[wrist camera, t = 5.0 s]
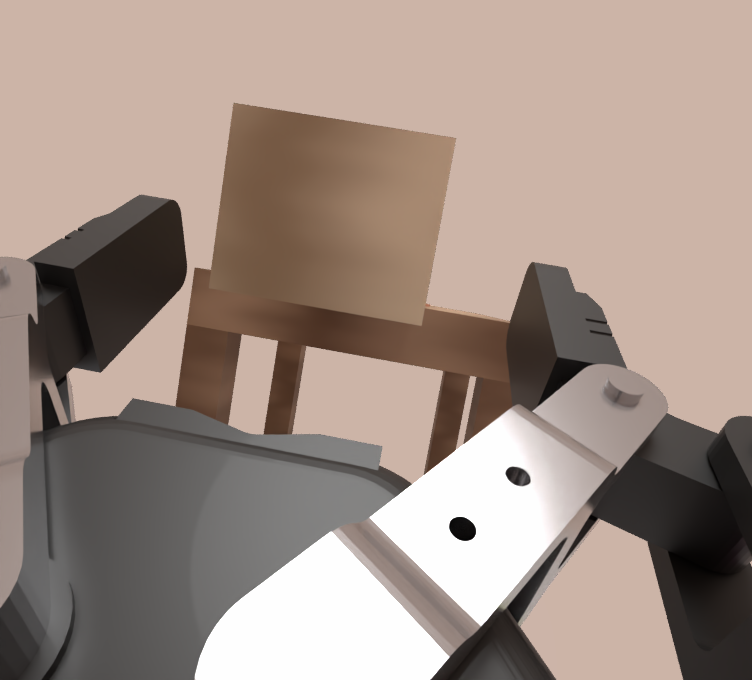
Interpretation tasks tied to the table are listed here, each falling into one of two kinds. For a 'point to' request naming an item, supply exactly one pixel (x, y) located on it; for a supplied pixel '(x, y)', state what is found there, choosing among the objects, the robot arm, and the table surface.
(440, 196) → the birch bar
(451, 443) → the walnut stool
